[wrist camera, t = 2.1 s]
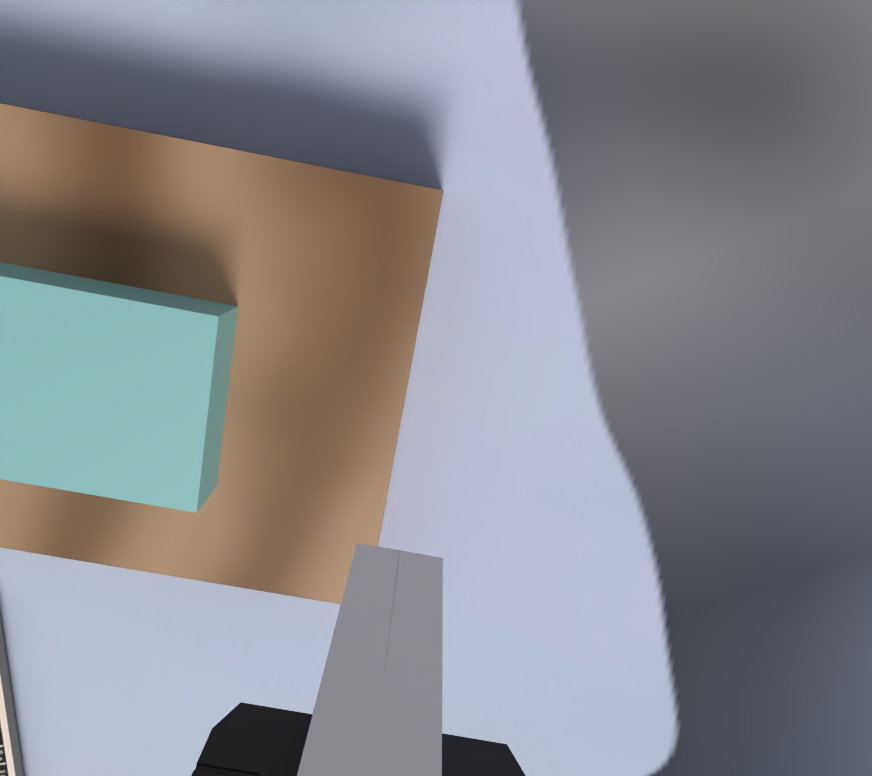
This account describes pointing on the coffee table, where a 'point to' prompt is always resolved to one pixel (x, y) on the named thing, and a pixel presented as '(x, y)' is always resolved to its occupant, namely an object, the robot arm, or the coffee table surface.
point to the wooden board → (253, 343)
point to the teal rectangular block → (112, 388)
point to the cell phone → (8, 720)
